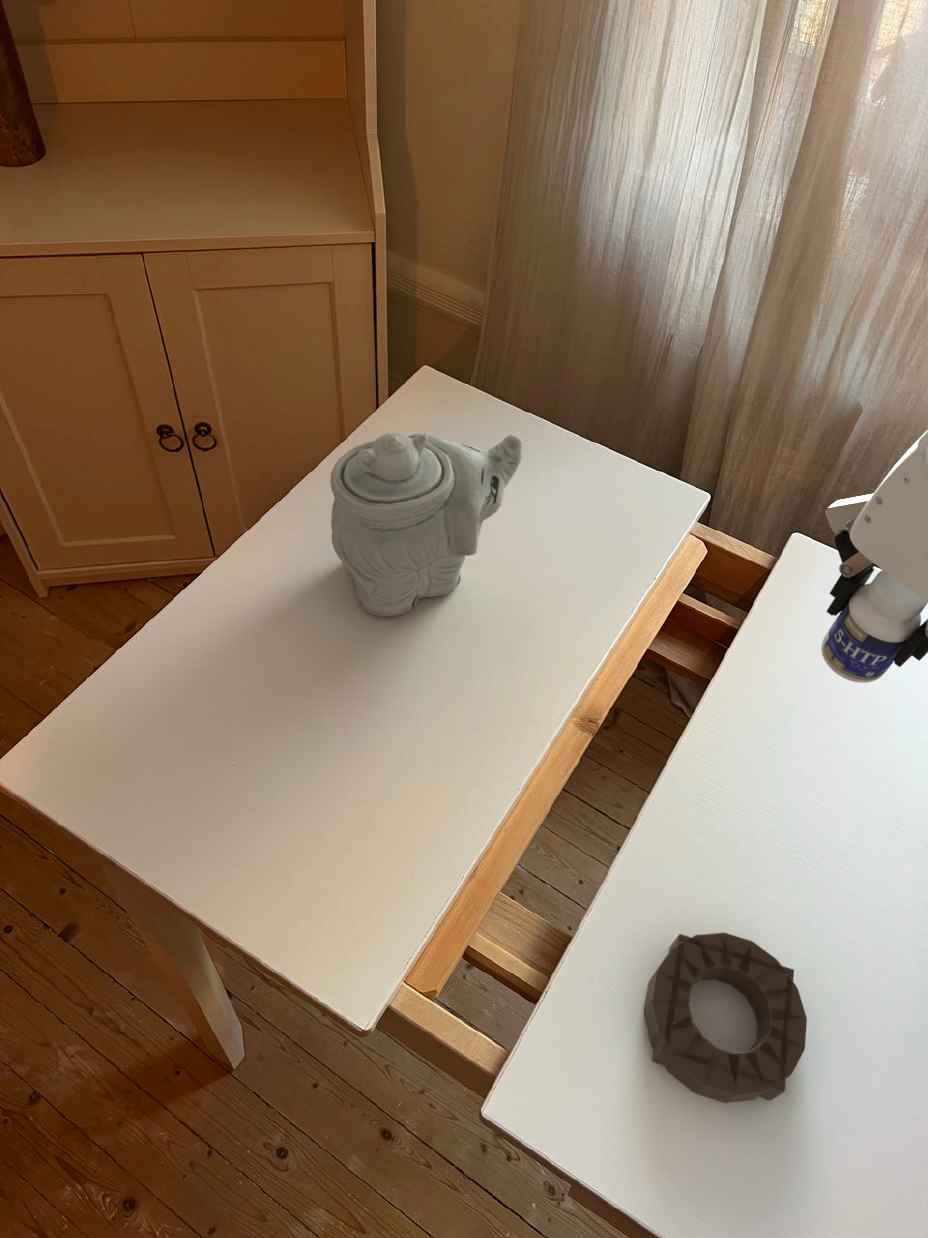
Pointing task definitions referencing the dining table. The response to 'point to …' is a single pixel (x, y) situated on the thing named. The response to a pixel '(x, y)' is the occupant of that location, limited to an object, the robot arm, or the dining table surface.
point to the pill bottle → (872, 629)
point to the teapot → (414, 513)
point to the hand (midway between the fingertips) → (873, 628)
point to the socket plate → (696, 1055)
